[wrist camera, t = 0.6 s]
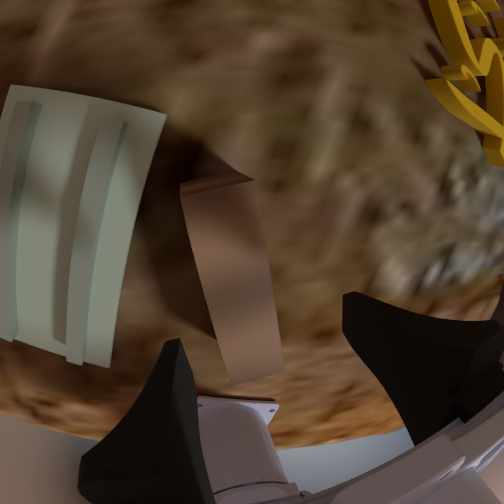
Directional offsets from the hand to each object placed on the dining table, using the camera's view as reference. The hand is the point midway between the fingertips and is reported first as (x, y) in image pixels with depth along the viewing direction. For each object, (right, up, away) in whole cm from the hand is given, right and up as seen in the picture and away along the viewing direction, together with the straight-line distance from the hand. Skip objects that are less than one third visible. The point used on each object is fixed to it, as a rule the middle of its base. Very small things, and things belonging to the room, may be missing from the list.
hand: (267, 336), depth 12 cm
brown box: (-2, +3, +8) cm, 9 cm away
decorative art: (+28, +23, +8) cm, 37 cm away
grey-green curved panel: (-14, +5, +4) cm, 15 cm away
